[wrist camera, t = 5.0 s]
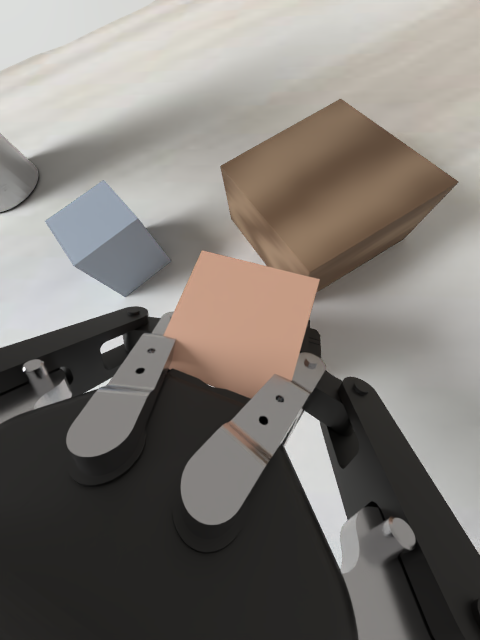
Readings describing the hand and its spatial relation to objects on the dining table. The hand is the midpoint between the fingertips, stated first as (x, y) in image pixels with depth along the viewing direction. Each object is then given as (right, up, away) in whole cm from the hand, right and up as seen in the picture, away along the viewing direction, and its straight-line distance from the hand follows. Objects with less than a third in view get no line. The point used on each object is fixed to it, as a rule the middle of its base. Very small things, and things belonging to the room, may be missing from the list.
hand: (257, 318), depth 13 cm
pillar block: (0, -3, +4) cm, 5 cm away
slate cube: (-13, +6, +9) cm, 17 cm away
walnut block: (+6, +9, +8) cm, 14 cm away
